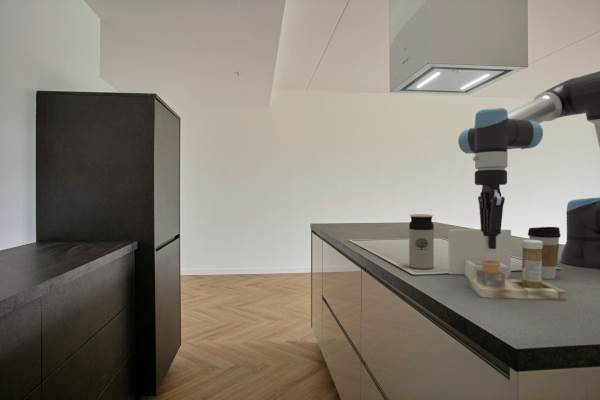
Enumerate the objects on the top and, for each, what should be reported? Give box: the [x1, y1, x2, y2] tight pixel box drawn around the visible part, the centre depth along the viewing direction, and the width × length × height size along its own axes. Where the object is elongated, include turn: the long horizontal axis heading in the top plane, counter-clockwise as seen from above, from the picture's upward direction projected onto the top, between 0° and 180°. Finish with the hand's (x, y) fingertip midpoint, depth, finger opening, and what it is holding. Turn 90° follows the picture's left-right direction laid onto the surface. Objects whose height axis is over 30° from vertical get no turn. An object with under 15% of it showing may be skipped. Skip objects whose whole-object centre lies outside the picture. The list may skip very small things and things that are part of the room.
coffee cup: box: [527, 226, 562, 280], centre depth 117 cm, size 8×8×15 cm
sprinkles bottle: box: [521, 239, 543, 288], centre depth 99 cm, size 5×5×14 cm
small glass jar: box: [481, 260, 500, 274], centre depth 100 cm, size 4×4×5 cm
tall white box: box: [447, 228, 512, 279], centre depth 116 cm, size 18×12×14 cm, turn 81°
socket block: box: [467, 270, 567, 301], centre depth 99 cm, size 19×12×5 cm, turn 81°
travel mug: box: [408, 213, 435, 270], centre depth 133 cm, size 8×8×18 cm
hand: (490, 260), depth 100 cm, fingers closed
